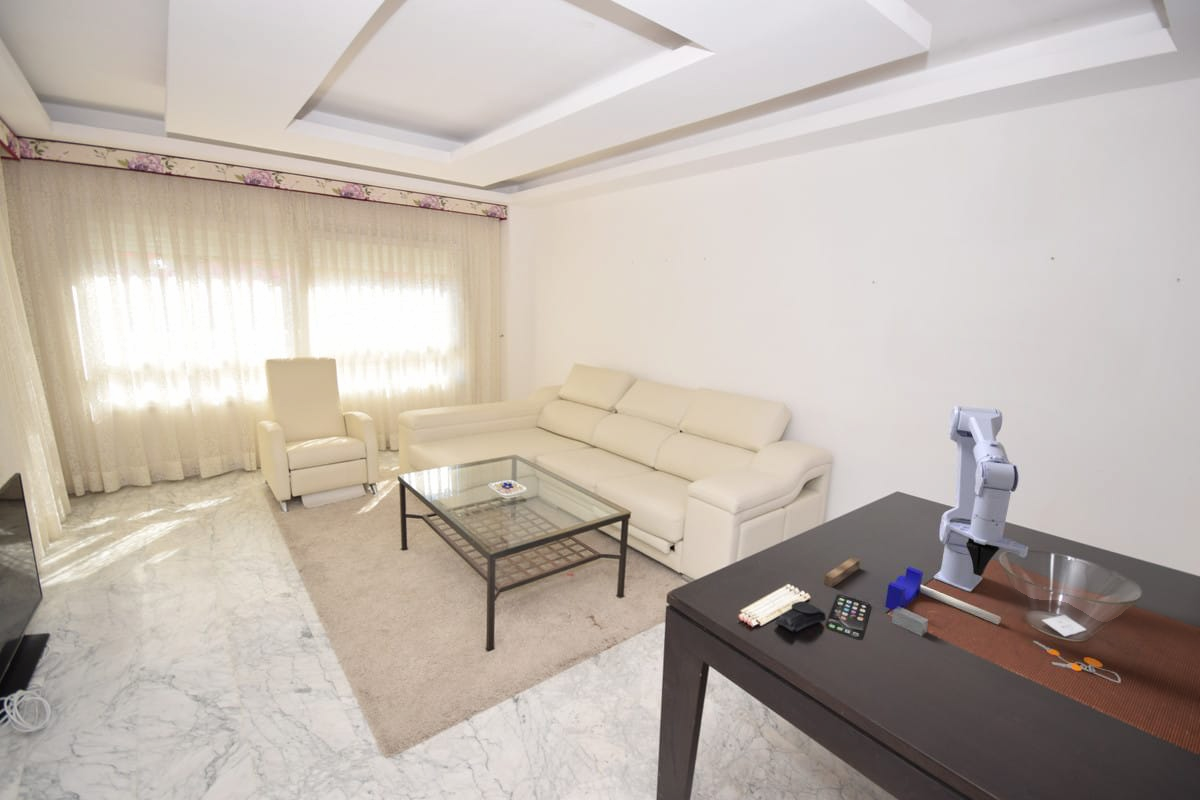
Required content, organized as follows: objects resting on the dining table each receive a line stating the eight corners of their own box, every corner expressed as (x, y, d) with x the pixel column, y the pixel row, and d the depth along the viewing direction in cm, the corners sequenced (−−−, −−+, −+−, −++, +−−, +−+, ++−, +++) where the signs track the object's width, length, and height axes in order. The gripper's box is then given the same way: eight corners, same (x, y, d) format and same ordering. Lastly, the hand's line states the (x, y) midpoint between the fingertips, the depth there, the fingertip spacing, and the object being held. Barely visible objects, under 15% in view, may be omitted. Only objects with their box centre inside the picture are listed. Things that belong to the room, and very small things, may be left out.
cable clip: (899, 586, 129) (902, 564, 127) (919, 594, 125) (922, 571, 124) (878, 604, 121) (881, 581, 120) (898, 613, 118) (902, 590, 116)
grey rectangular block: (896, 618, 116) (898, 606, 115) (926, 631, 111) (928, 619, 111) (891, 622, 114) (893, 610, 114) (921, 636, 110) (923, 623, 109)
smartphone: (824, 627, 112) (837, 593, 125) (823, 629, 113) (836, 595, 125) (861, 640, 108) (871, 603, 121) (861, 642, 109) (871, 606, 121)
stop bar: (851, 565, 138) (852, 557, 137) (858, 568, 136) (859, 560, 136) (824, 583, 129) (825, 575, 128) (831, 587, 127) (832, 578, 127)
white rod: (898, 581, 130) (899, 574, 130) (1000, 622, 115) (1001, 615, 114) (895, 583, 129) (896, 577, 129) (997, 626, 114) (998, 618, 113)
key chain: (1115, 666, 102) (1116, 662, 102) (1123, 689, 96) (1124, 685, 96) (1032, 640, 110) (1033, 636, 109) (1034, 659, 104) (1035, 656, 104)
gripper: (943, 509, 115) (934, 565, 118) (1026, 534, 104) (1013, 594, 107) (955, 501, 119) (946, 555, 122) (1035, 524, 108) (1023, 583, 111)
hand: (978, 573), depth 115 cm, fingers closed
